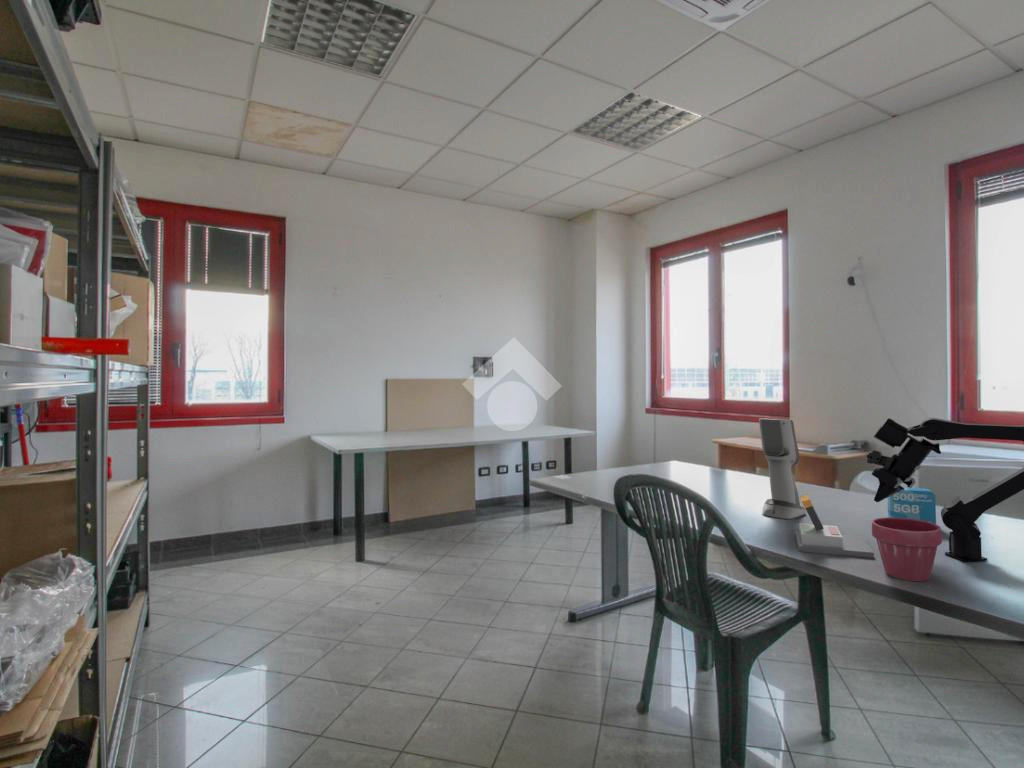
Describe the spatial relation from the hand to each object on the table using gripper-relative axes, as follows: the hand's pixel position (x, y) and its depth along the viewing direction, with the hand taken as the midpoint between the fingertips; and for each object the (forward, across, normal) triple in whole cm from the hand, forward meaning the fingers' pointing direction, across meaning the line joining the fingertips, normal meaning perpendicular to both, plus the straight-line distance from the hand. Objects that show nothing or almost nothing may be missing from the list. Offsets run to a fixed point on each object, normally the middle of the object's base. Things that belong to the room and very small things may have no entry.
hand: (875, 501), depth 156 cm
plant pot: (+8, +18, +18) cm, 27 cm away
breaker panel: (+17, +6, 0) cm, 18 cm away
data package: (+7, -32, +5) cm, 34 cm away
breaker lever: (+14, +8, -5) cm, 17 cm away
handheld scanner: (+27, -21, -24) cm, 41 cm away
